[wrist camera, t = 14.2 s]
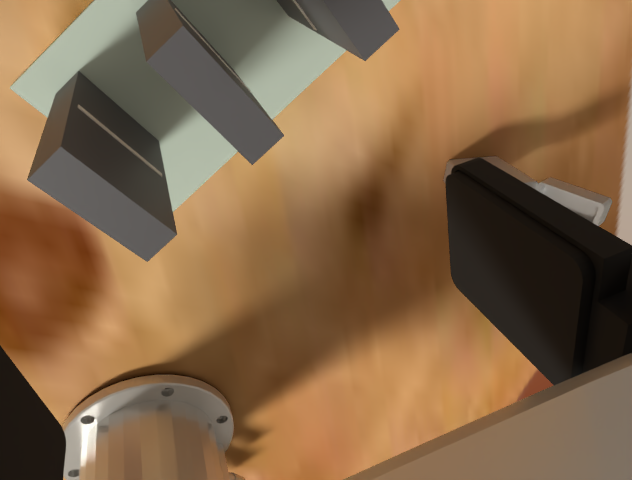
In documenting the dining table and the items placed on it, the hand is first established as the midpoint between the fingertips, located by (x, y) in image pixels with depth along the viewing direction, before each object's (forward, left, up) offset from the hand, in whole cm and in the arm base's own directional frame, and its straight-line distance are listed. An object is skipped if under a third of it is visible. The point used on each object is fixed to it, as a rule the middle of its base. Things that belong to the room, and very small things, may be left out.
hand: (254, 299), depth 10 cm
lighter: (-20, -11, -20) cm, 30 cm away
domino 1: (0, +4, -19) cm, 20 cm away
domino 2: (0, -2, -19) cm, 19 cm away
